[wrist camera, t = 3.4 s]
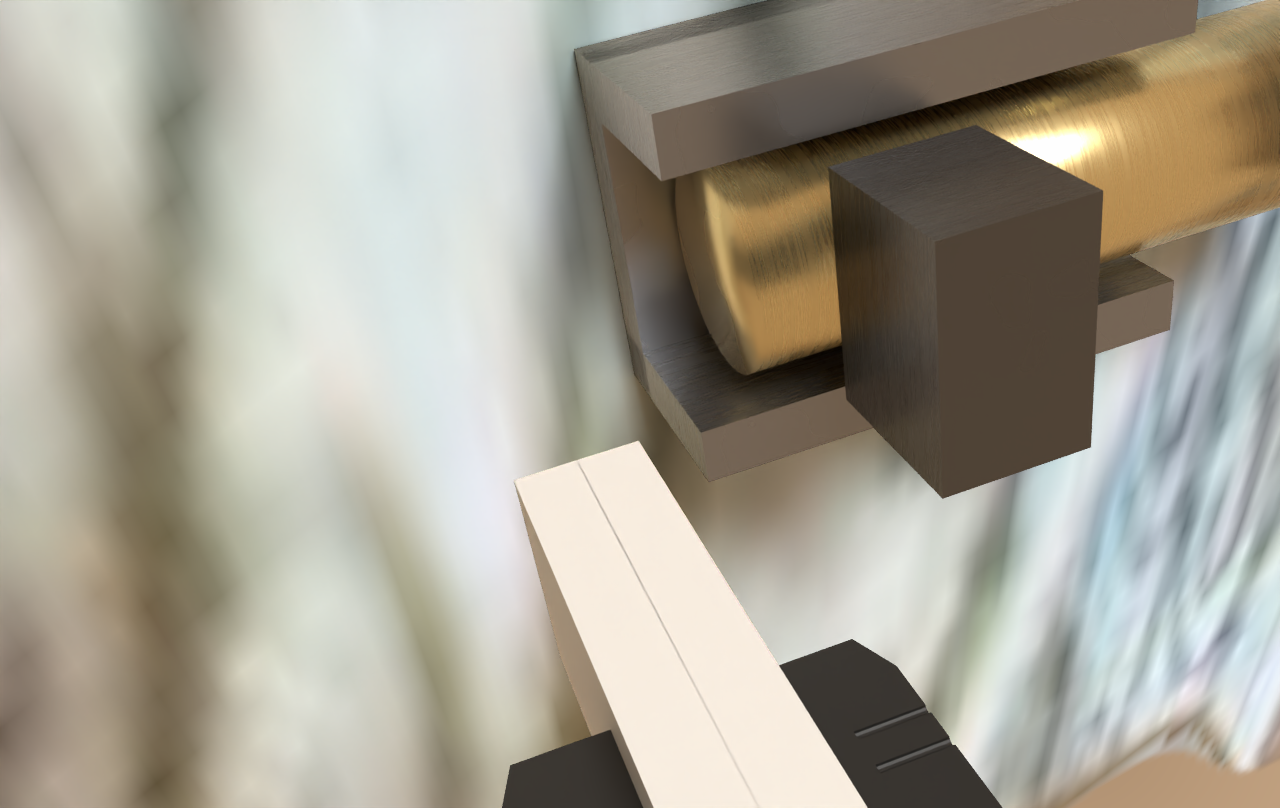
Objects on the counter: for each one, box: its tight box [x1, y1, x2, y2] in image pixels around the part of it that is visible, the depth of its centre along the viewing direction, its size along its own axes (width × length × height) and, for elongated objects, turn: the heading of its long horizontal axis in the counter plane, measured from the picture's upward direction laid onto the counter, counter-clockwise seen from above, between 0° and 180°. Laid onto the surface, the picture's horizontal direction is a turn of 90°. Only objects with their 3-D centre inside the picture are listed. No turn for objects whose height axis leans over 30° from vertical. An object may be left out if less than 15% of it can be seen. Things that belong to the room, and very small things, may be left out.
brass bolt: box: [675, 0, 1280, 498], centre depth 20 cm, size 13×4×7 cm, turn 99°
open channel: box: [574, 0, 1198, 482], centre depth 21 cm, size 9×6×4 cm
